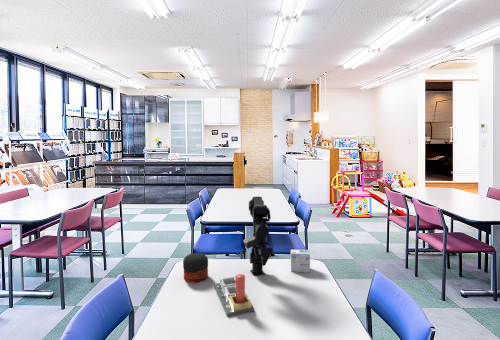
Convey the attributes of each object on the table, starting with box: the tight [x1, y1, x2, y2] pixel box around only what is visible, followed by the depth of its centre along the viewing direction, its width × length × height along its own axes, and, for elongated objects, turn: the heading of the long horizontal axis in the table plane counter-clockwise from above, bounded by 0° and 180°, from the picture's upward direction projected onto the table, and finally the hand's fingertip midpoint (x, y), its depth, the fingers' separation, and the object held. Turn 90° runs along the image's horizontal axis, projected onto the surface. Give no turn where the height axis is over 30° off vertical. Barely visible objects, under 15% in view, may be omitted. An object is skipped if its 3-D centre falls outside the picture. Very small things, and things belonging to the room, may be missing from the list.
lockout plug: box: [235, 273, 246, 304], centre depth 134 cm, size 4×4×13 cm
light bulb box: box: [290, 249, 311, 273], centre depth 173 cm, size 11×7×11 cm, turn 84°
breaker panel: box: [213, 276, 255, 317], centre depth 143 cm, size 27×12×4 cm, turn 18°
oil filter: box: [182, 252, 209, 284], centre depth 164 cm, size 13×12×13 cm
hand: (260, 261), depth 152 cm, fingers open, 9 cm apart
